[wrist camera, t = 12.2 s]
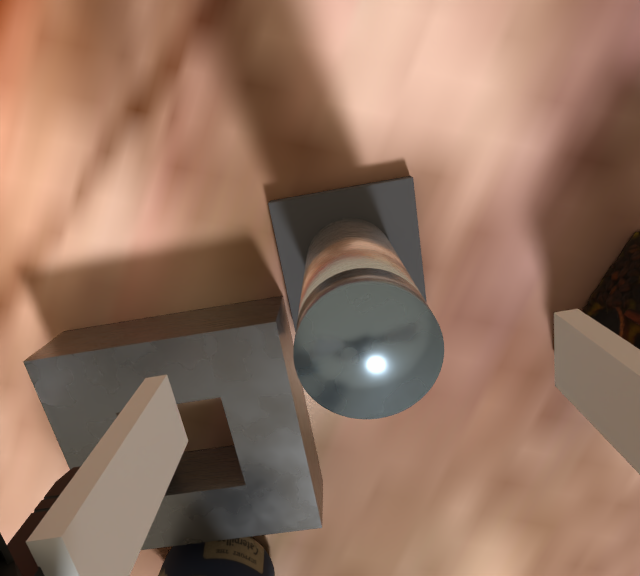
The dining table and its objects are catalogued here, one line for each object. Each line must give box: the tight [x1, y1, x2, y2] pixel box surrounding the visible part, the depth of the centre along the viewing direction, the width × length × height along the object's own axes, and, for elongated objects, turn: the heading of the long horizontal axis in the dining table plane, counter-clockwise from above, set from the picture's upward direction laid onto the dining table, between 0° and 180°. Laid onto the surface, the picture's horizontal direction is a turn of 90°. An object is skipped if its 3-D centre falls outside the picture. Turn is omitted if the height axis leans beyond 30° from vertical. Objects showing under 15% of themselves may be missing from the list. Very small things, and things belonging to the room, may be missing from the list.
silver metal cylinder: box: [293, 218, 444, 419], centre depth 23 cm, size 6×6×13 cm
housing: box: [23, 296, 323, 550], centre depth 32 cm, size 16×16×4 cm
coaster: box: [268, 176, 426, 332], centre depth 29 cm, size 9×9×1 cm
